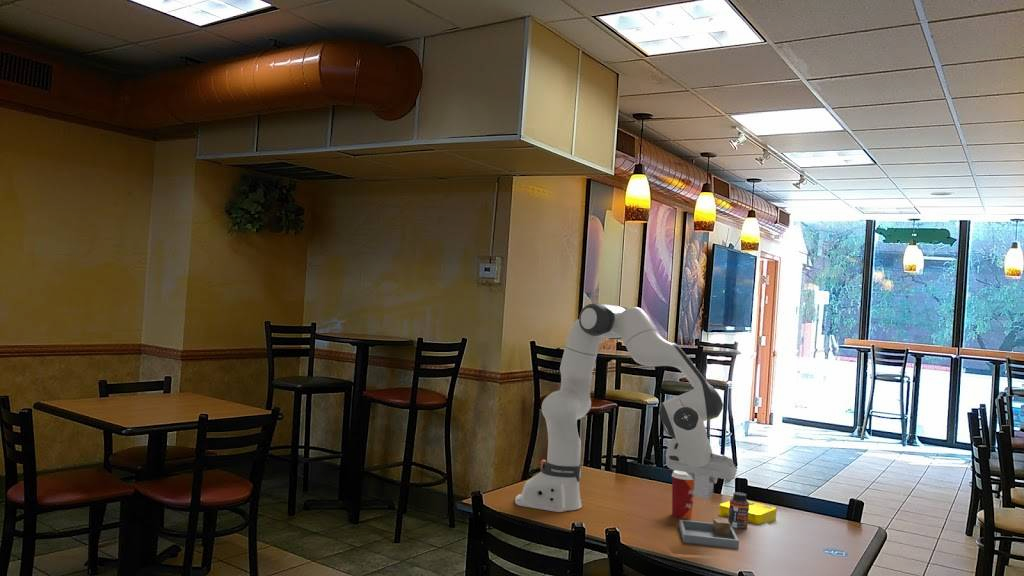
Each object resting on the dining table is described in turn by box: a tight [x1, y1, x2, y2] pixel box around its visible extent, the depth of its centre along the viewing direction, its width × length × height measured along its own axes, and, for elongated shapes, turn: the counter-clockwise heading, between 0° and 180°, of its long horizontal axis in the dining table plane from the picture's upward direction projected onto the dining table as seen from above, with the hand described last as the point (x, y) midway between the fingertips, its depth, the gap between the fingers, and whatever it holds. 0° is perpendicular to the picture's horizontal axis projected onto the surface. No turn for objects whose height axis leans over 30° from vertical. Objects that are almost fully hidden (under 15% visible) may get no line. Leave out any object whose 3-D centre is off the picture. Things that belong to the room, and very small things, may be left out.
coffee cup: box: [671, 470, 695, 520], centre depth 244 cm, size 8×8×15 cm
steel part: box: [694, 474, 715, 500], centre depth 224 cm, size 4×4×10 cm
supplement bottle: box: [727, 491, 749, 531], centre depth 236 cm, size 6×6×11 cm
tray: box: [678, 519, 740, 549], centre depth 222 cm, size 16×16×3 cm
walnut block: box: [712, 518, 731, 537], centre depth 226 cm, size 4×4×4 cm
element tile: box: [718, 499, 777, 525], centre depth 250 cm, size 15×15×5 cm
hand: (704, 479), depth 225 cm, fingers closed on steel part, 4 cm apart
